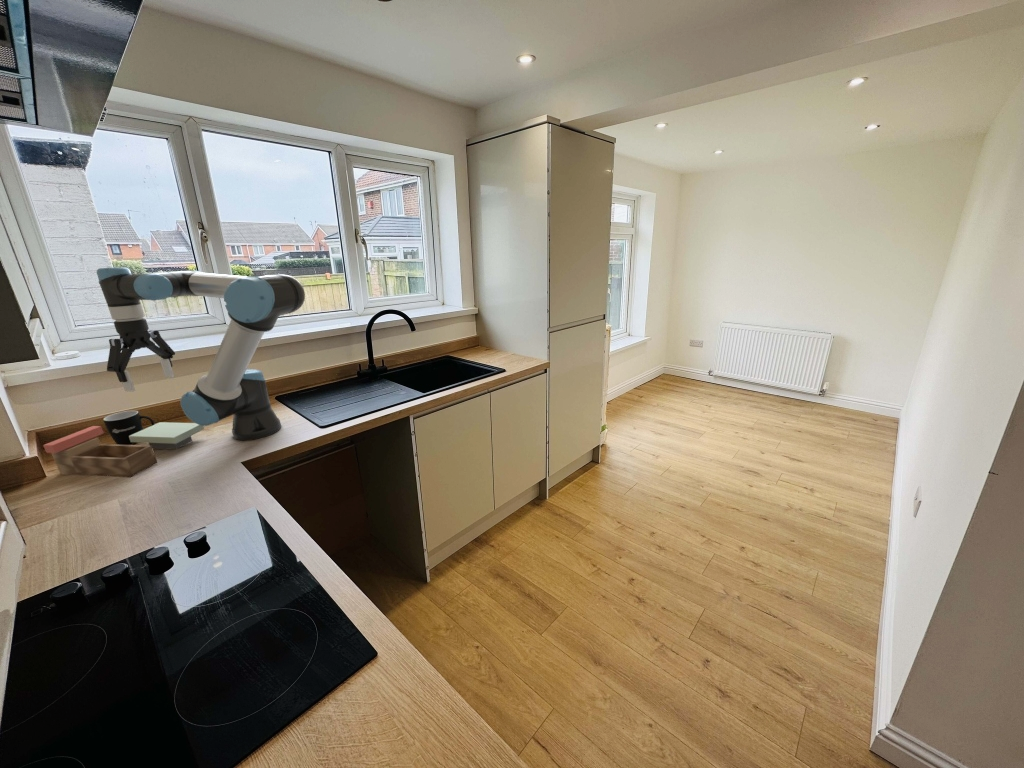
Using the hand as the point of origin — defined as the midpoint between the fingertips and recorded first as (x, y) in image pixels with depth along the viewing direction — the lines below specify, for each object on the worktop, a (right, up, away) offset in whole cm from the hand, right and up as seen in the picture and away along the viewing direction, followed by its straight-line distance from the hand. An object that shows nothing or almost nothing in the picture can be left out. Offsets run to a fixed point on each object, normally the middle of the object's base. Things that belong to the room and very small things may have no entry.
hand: (151, 384), depth 131 cm
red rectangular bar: (-14, -18, -9) cm, 25 cm away
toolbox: (-6, -26, -8) cm, 28 cm away
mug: (-15, -20, +11) cm, 27 cm away
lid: (+1, -17, +6) cm, 18 cm away
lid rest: (+1, -21, +7) cm, 22 cm away
